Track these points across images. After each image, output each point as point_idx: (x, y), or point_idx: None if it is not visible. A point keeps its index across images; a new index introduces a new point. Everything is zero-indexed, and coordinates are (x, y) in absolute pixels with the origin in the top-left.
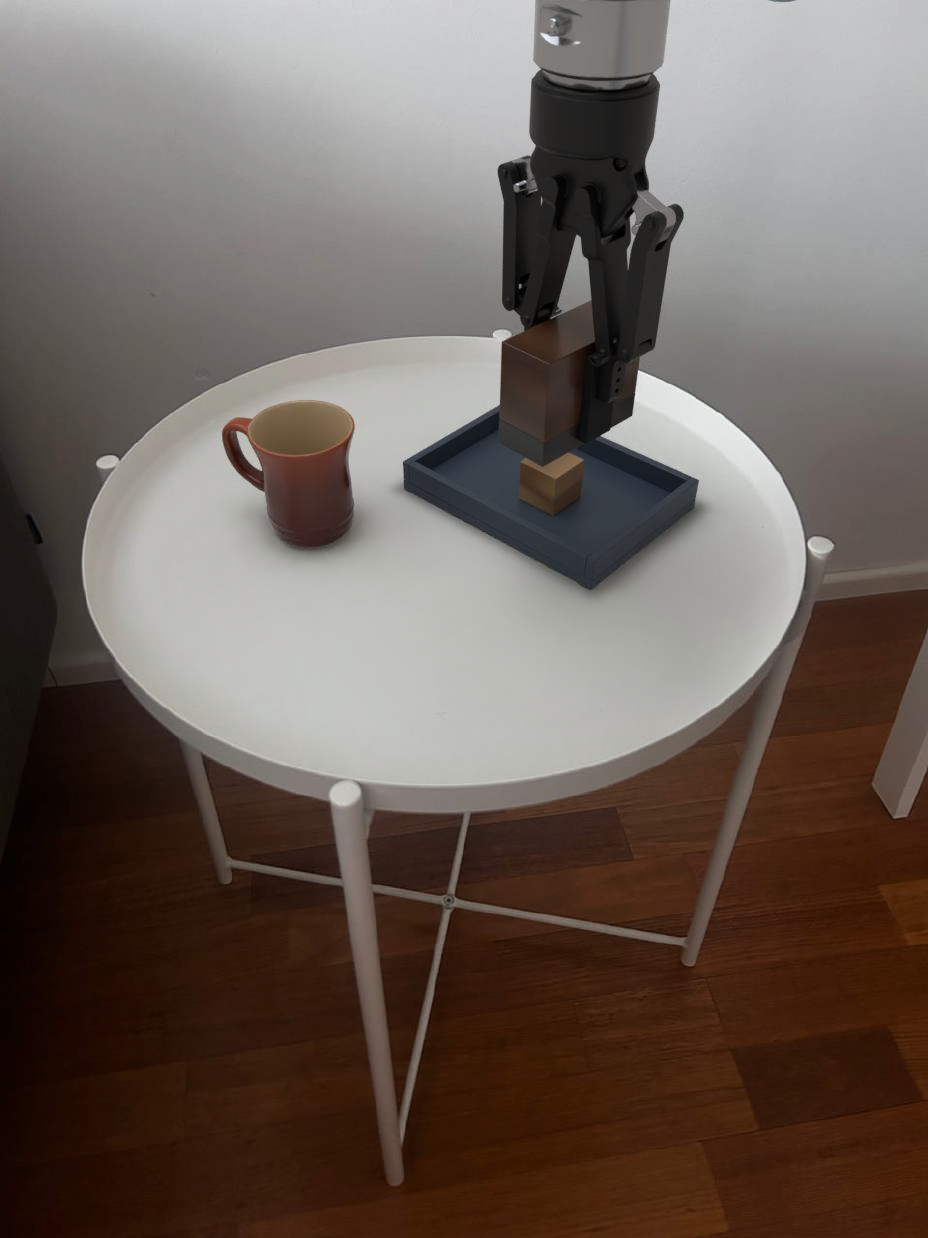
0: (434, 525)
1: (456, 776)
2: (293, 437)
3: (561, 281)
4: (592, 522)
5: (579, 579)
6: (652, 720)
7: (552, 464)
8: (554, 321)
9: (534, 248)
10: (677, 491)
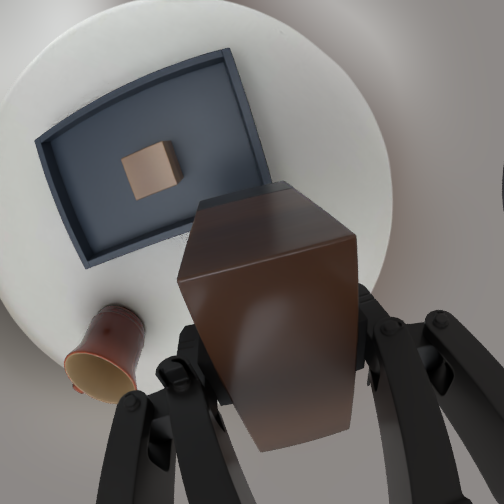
0: (144, 259)
1: None
2: (82, 359)
3: (223, 450)
4: (208, 151)
5: None
6: (379, 236)
7: (154, 175)
8: (248, 403)
9: (141, 502)
10: (233, 74)
